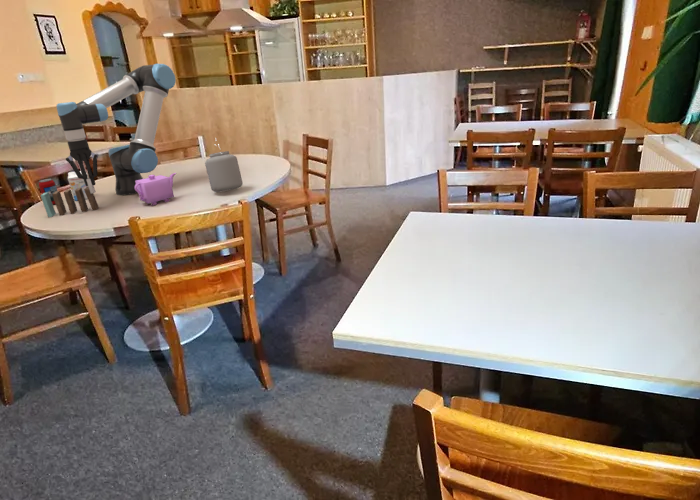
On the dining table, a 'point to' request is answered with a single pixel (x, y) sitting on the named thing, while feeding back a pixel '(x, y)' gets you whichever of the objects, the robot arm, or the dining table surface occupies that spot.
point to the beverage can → (48, 188)
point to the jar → (223, 171)
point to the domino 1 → (48, 204)
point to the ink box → (76, 184)
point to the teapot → (155, 188)
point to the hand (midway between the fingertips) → (93, 192)
